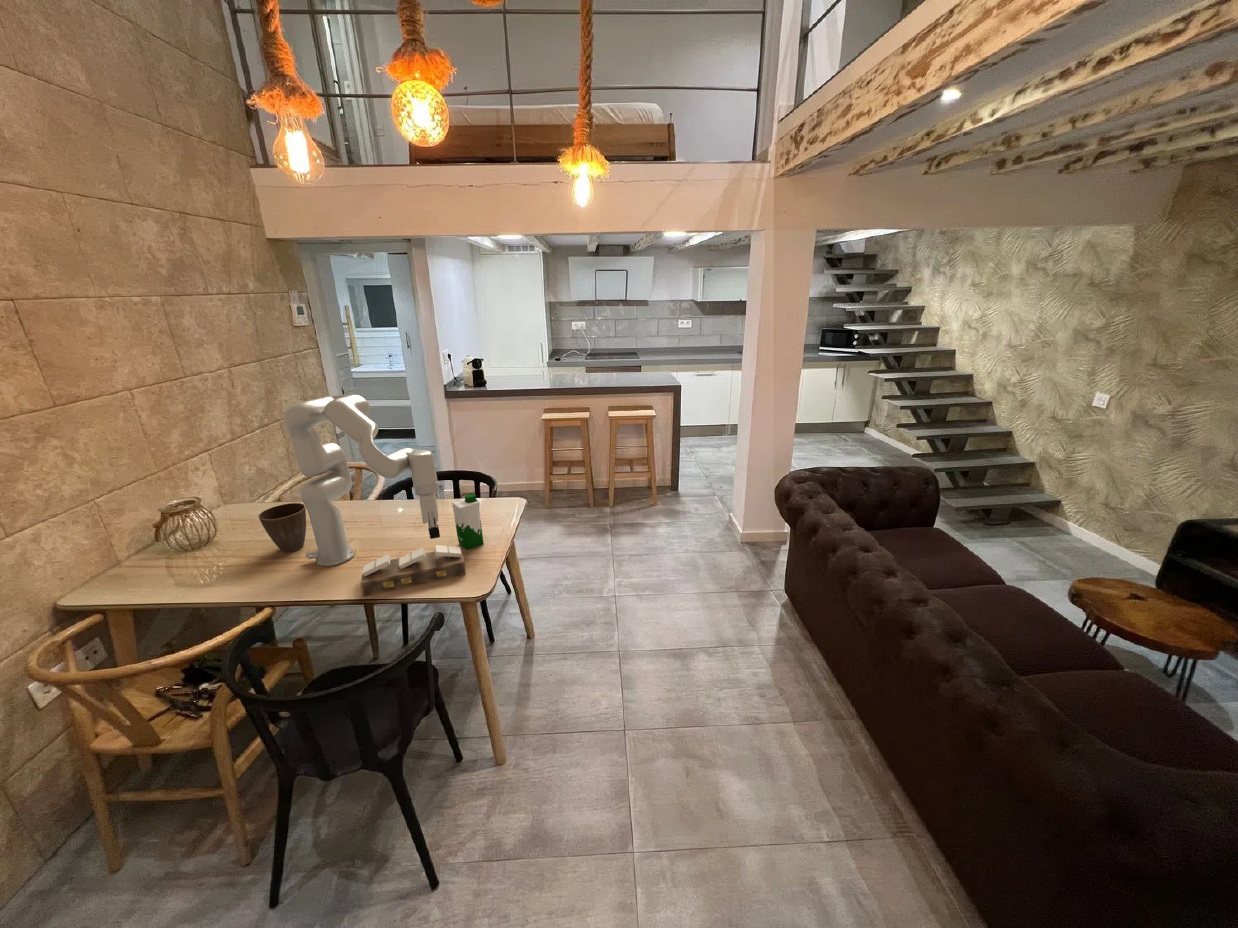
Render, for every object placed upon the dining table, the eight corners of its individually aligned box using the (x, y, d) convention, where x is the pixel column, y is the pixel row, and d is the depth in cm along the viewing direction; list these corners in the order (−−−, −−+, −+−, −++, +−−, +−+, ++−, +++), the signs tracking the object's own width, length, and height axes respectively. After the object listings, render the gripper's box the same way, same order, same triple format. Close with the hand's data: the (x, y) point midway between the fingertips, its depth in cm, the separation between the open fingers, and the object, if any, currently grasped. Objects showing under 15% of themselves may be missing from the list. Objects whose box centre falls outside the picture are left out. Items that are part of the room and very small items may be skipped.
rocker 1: (364, 576, 158) (362, 572, 157) (366, 568, 162) (363, 565, 162) (389, 564, 160) (387, 560, 159) (390, 557, 164) (388, 553, 164)
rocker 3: (435, 555, 165) (436, 551, 164) (434, 548, 169) (435, 544, 169) (460, 557, 168) (461, 553, 168) (459, 550, 173) (460, 546, 173)
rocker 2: (401, 569, 162) (398, 565, 161) (401, 561, 166) (399, 558, 166) (425, 557, 164) (422, 553, 163) (424, 550, 168) (422, 546, 168)
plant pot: (292, 559, 180) (282, 520, 175) (259, 556, 183) (248, 517, 178) (323, 540, 194) (314, 504, 189) (292, 537, 197) (282, 501, 192)
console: (363, 596, 156) (359, 580, 154) (366, 577, 167) (363, 562, 165) (466, 574, 167) (463, 559, 165) (462, 558, 178) (460, 543, 176)
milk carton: (486, 544, 188) (481, 497, 181) (464, 552, 182) (457, 503, 176) (477, 536, 194) (471, 490, 188) (455, 544, 189) (448, 496, 182)
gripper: (414, 482, 165) (423, 530, 171) (414, 497, 152) (423, 549, 158) (437, 478, 168) (445, 526, 173) (439, 493, 154) (447, 544, 160)
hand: (435, 537), depth 166 cm, fingers closed
